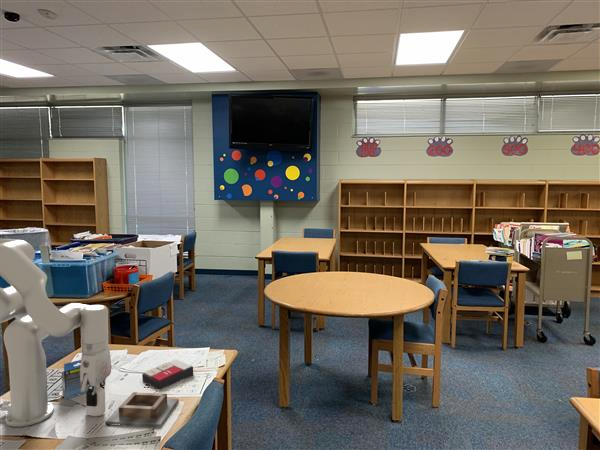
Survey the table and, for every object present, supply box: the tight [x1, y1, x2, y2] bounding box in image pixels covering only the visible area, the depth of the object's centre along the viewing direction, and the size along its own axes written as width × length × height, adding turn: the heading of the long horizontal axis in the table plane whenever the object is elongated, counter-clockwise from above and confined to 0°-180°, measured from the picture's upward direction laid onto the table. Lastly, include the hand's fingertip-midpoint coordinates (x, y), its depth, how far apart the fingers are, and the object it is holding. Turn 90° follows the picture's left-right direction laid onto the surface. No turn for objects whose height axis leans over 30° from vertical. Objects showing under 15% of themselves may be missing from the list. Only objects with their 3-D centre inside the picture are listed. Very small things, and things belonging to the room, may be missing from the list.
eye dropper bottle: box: [85, 384, 106, 417], centre depth 128 cm, size 4×6×12 cm
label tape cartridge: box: [61, 359, 90, 400], centre depth 141 cm, size 9×4×12 cm, turn 132°
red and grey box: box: [141, 358, 194, 390], centre depth 154 cm, size 11×4×15 cm
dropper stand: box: [104, 391, 179, 428], centre depth 130 cm, size 17×15×4 cm
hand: (95, 401), depth 129 cm, fingers closed on eye dropper bottle, 3 cm apart
